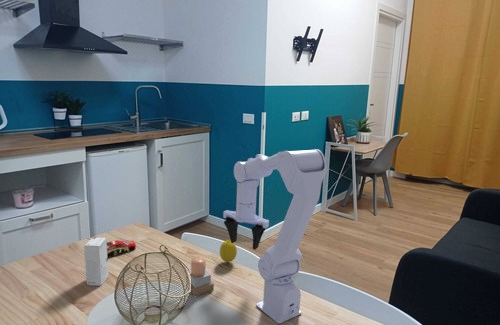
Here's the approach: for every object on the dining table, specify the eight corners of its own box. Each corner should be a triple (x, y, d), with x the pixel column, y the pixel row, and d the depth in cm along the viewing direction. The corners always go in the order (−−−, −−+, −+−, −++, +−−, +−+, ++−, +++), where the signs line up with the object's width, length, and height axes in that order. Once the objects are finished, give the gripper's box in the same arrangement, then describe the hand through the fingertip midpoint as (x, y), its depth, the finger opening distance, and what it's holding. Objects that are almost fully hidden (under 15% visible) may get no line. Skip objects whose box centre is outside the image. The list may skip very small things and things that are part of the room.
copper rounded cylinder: (208, 274, 103) (208, 261, 103) (195, 278, 101) (196, 265, 100) (200, 268, 106) (200, 256, 106) (188, 272, 104) (188, 259, 103)
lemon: (237, 259, 123) (238, 237, 121) (235, 267, 118) (235, 244, 116) (221, 258, 123) (221, 235, 122) (218, 265, 118) (218, 242, 116)
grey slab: (210, 282, 104) (210, 274, 103) (195, 288, 101) (195, 279, 100) (201, 275, 108) (201, 267, 107) (186, 280, 105) (186, 272, 104)
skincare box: (101, 286, 104) (100, 246, 101) (85, 285, 103) (83, 245, 101) (109, 275, 110) (107, 237, 107) (93, 274, 110) (92, 236, 107)
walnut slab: (213, 291, 104) (213, 283, 104) (194, 298, 101) (194, 289, 100) (202, 282, 109) (202, 274, 108) (184, 288, 105) (184, 280, 105)
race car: (132, 244, 131) (131, 234, 130) (139, 250, 127) (138, 239, 126) (94, 254, 122) (93, 243, 122) (100, 260, 118) (100, 249, 118)
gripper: (218, 200, 107) (216, 243, 110) (261, 210, 100) (259, 256, 103) (231, 194, 113) (229, 235, 116) (273, 203, 106) (270, 247, 109)
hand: (244, 245), depth 110 cm, fingers open, 7 cm apart
